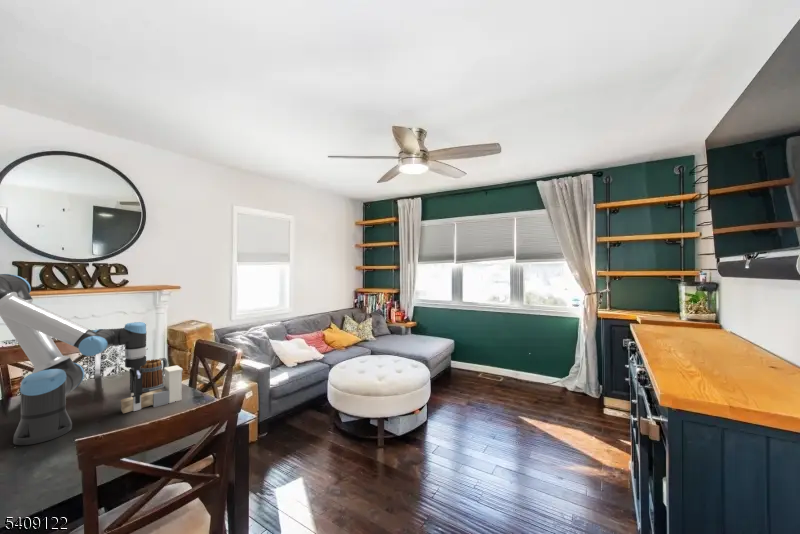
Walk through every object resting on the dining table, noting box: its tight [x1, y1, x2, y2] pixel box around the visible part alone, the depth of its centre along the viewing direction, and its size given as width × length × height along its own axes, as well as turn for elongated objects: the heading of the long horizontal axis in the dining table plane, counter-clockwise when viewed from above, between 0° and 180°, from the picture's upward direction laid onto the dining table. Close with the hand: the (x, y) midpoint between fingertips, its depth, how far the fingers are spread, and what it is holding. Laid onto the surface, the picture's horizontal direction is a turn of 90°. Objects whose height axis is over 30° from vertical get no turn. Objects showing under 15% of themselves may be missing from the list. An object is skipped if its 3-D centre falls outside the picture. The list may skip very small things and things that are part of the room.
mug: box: [140, 357, 168, 394], centre depth 172 cm, size 16×11×15 cm
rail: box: [120, 388, 166, 414], centre depth 150 cm, size 16×4×5 cm, turn 139°
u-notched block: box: [149, 365, 184, 408], centre depth 157 cm, size 11×9×15 cm
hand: (136, 408), depth 148 cm, fingers open, 4 cm apart
